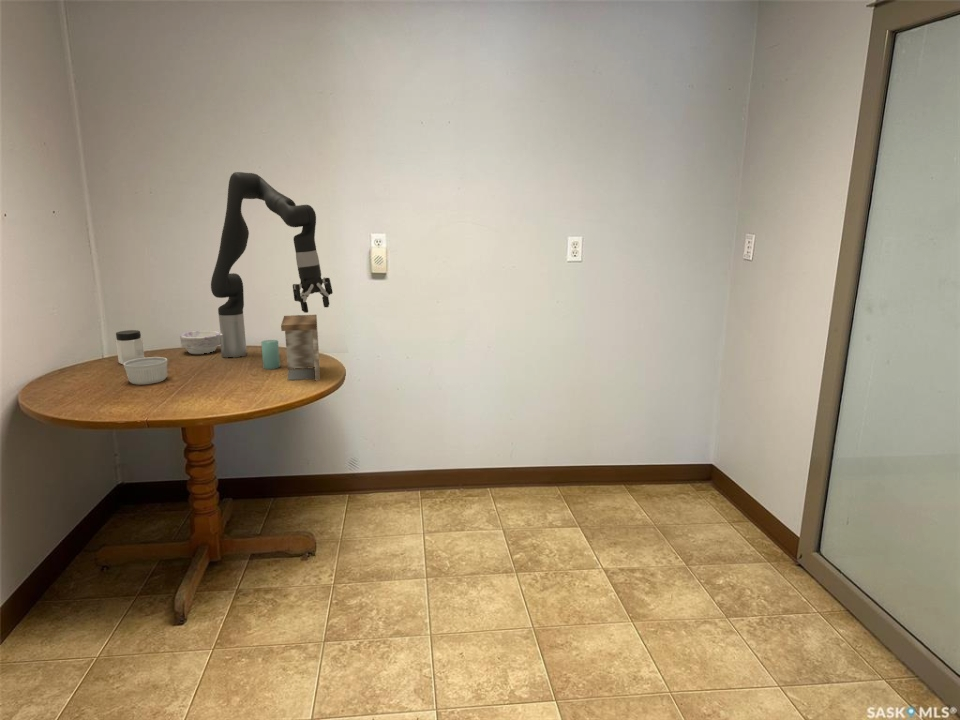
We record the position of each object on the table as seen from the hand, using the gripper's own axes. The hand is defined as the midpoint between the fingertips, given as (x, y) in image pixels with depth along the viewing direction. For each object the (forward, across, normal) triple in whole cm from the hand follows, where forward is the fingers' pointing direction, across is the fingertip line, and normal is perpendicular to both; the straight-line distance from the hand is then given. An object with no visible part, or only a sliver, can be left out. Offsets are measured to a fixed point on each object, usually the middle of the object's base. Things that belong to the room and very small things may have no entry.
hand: (316, 309), depth 209 cm
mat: (+22, +9, -4) cm, 24 cm away
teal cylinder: (+22, +10, -21) cm, 32 cm away
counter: (+22, +7, -4) cm, 24 cm away
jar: (+17, +42, -68) cm, 82 cm away
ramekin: (+17, +48, -36) cm, 62 cm away
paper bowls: (+20, +16, -66) cm, 71 cm away
